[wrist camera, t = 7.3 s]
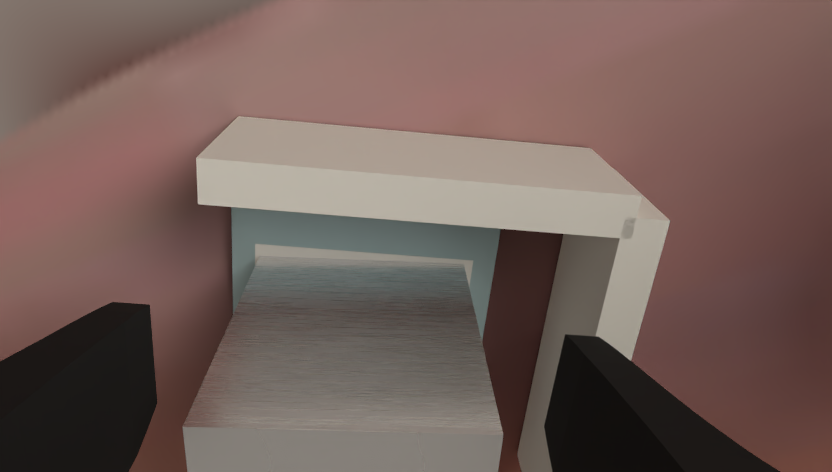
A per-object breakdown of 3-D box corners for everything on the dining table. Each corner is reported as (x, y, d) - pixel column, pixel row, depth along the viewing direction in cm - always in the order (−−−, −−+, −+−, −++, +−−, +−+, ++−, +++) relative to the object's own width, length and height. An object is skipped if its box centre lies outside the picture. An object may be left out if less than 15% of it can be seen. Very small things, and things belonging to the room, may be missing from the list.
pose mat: (234, 202, 14) (230, 208, 13) (498, 223, 14) (500, 229, 14) (238, 447, 16) (235, 456, 16) (459, 460, 17) (460, 468, 16)
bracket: (259, 256, 14) (182, 427, 9) (464, 263, 14) (502, 435, 9) (267, 435, 16) (208, 658, 11) (445, 440, 16) (470, 660, 11)
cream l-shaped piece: (238, 116, 13) (195, 157, 10) (618, 150, 13) (676, 199, 11) (241, 439, 16) (210, 536, 13) (546, 455, 17) (576, 552, 14)
